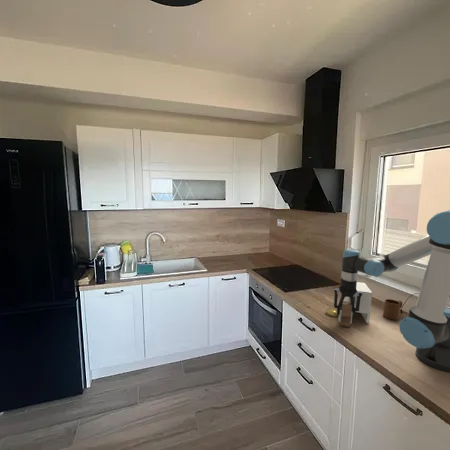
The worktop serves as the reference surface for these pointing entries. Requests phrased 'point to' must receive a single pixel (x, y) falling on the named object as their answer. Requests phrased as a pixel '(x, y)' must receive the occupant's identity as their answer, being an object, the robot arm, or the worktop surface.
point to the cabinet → (362, 300)
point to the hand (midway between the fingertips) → (344, 321)
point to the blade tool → (346, 314)
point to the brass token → (332, 312)
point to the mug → (392, 309)
